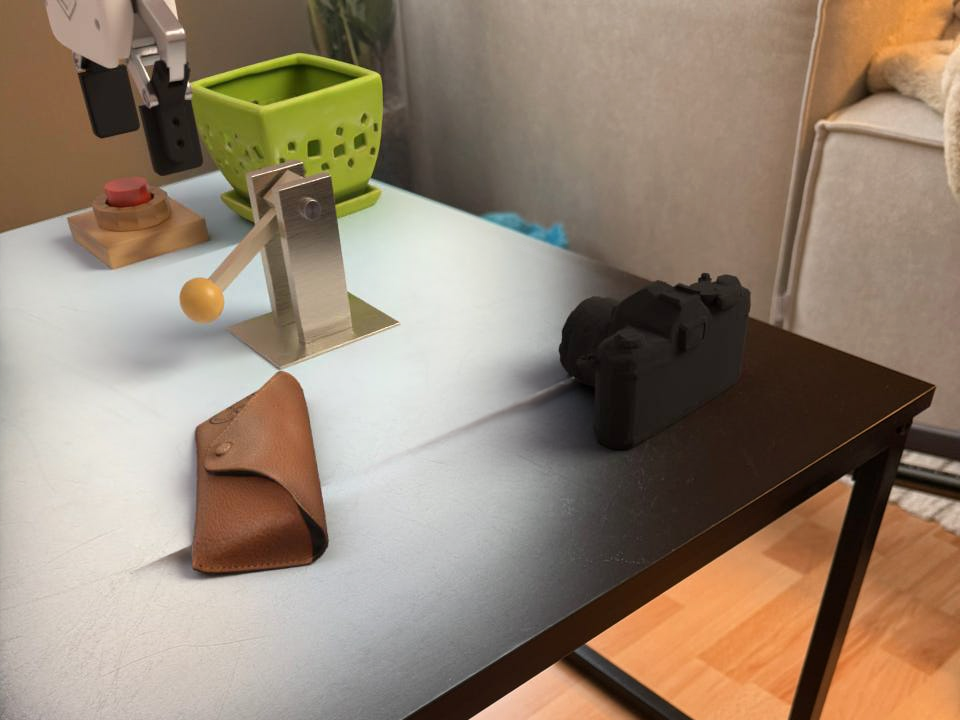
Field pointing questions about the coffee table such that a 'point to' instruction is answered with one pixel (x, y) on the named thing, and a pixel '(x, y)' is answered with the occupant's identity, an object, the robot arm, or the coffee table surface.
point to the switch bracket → (304, 274)
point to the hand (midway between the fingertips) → (147, 151)
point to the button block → (137, 229)
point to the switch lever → (230, 266)
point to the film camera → (656, 353)
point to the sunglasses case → (258, 484)
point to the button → (127, 192)
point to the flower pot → (294, 125)
